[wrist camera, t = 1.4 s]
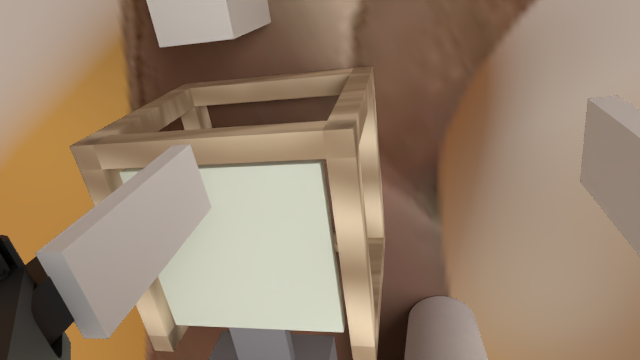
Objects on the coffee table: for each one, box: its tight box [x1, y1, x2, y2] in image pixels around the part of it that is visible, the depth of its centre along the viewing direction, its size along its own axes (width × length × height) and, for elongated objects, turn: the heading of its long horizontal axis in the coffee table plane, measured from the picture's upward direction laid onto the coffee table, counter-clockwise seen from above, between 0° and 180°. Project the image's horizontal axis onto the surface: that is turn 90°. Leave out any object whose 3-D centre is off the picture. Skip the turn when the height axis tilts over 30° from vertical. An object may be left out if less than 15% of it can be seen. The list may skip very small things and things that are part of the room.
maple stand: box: [70, 66, 385, 360], centre depth 31 cm, size 16×16×14 cm
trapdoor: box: [119, 159, 345, 360], centre depth 28 cm, size 20×12×5 cm, turn 8°
